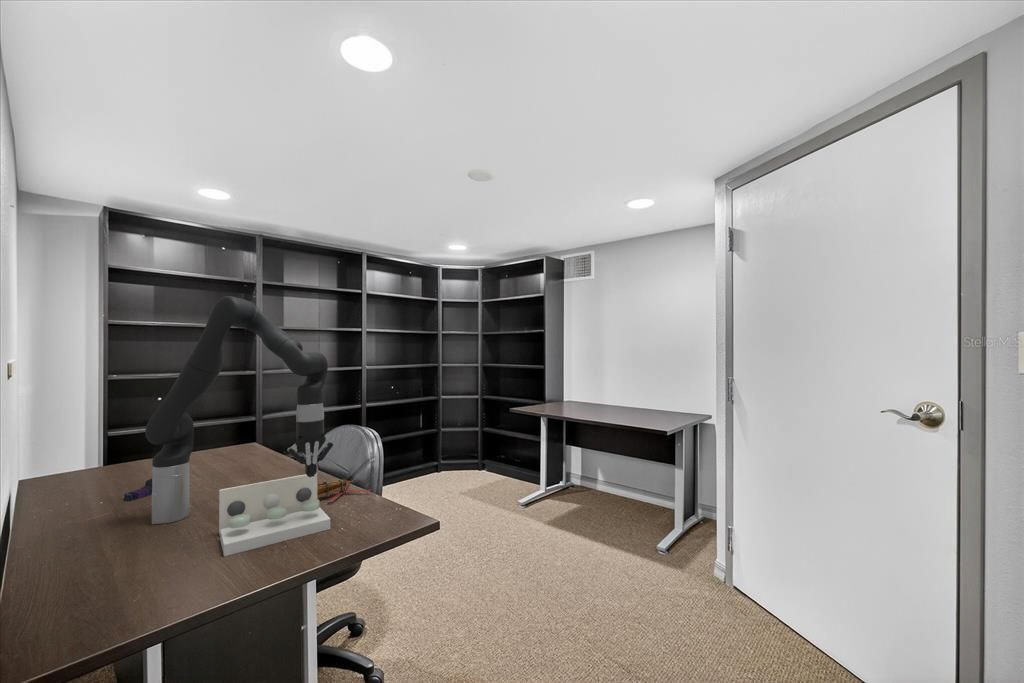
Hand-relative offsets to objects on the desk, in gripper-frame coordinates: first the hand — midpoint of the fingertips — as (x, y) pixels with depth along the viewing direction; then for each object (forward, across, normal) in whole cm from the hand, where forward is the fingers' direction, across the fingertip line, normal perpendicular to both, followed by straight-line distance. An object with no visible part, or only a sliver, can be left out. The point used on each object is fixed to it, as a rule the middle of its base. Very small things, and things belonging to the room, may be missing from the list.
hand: (310, 476), depth 127 cm
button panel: (+15, +9, 0) cm, 17 cm away
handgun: (+15, +41, -76) cm, 88 cm away
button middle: (+10, +9, 0) cm, 13 cm away
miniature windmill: (+15, -8, -22) cm, 28 cm away
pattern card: (+15, +9, -10) cm, 20 cm away
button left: (+10, +18, 0) cm, 21 cm away
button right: (+10, 0, 0) cm, 10 cm away
